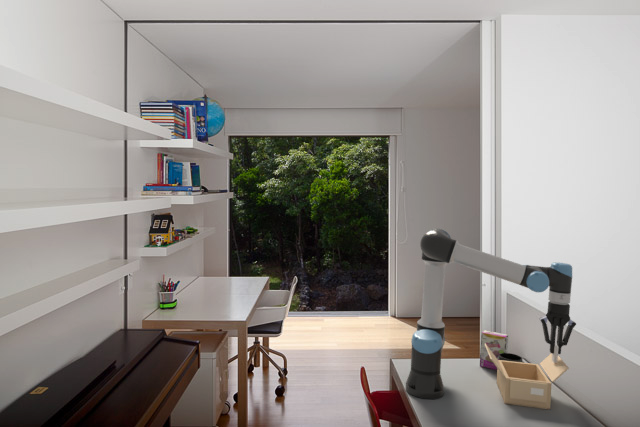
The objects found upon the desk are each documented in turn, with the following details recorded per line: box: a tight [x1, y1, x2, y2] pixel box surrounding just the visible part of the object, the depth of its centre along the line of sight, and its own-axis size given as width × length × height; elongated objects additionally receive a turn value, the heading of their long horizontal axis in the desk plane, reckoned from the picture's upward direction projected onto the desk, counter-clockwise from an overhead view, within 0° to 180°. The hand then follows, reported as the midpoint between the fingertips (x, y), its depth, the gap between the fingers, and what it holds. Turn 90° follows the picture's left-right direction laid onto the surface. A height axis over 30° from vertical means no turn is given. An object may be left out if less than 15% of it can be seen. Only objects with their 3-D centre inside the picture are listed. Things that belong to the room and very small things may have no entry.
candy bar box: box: [479, 329, 509, 371], centre depth 209 cm, size 11×5×16 cm, turn 58°
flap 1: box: [485, 343, 505, 376], centre depth 182 cm, size 8×19×1 cm
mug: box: [499, 352, 525, 363], centre depth 199 cm, size 9×12×9 cm
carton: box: [496, 360, 553, 410], centre depth 180 cm, size 16×22×10 cm
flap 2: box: [539, 353, 570, 383], centre depth 177 cm, size 8×19×1 cm
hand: (554, 361), depth 177 cm, fingers closed
